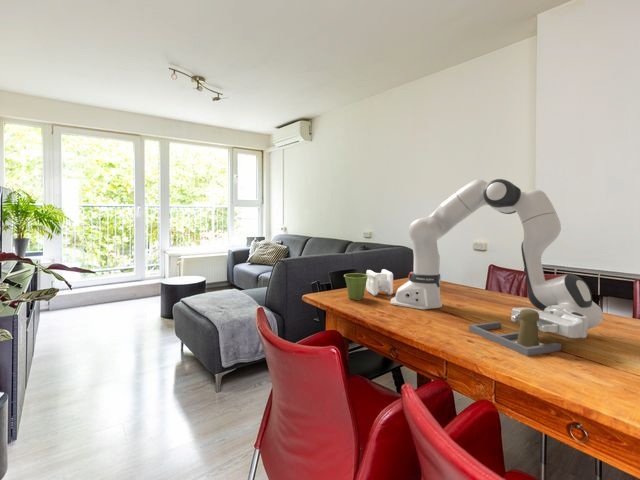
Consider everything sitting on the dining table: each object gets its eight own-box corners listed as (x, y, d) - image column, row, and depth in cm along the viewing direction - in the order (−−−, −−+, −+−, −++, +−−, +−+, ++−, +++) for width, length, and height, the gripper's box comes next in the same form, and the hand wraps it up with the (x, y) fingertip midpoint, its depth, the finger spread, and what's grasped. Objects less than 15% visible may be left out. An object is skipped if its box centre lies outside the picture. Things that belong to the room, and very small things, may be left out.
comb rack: (498, 326, 123) (498, 321, 123) (560, 350, 101) (560, 343, 101) (468, 330, 118) (469, 325, 118) (527, 356, 97) (527, 349, 97)
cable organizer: (393, 296, 168) (394, 273, 167) (373, 297, 167) (373, 273, 166) (384, 290, 183) (384, 268, 182) (364, 290, 181) (365, 269, 181)
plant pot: (339, 297, 167) (339, 274, 166) (360, 294, 172) (360, 272, 171) (351, 302, 156) (351, 278, 156) (373, 299, 161) (373, 276, 161)
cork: (515, 340, 109) (517, 306, 108) (537, 343, 106) (539, 308, 105) (517, 346, 103) (519, 311, 102) (541, 350, 101) (542, 313, 100)
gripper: (529, 301, 118) (498, 304, 114) (593, 318, 99) (559, 323, 94) (528, 319, 119) (498, 323, 114) (592, 339, 99) (558, 345, 95)
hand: (526, 323), depth 104 cm, fingers open, 8 cm apart
